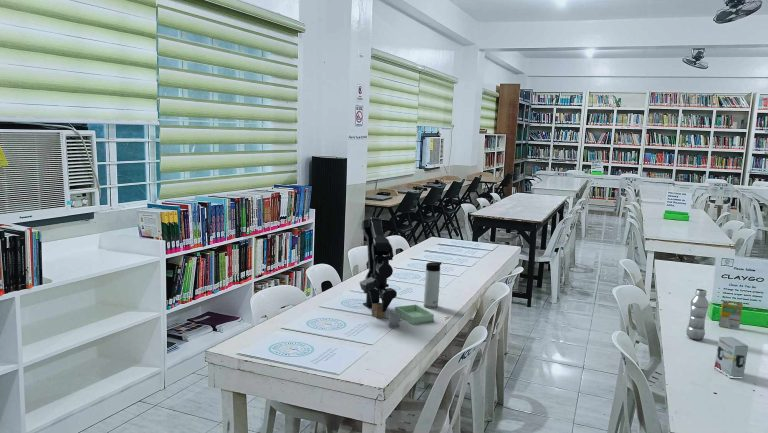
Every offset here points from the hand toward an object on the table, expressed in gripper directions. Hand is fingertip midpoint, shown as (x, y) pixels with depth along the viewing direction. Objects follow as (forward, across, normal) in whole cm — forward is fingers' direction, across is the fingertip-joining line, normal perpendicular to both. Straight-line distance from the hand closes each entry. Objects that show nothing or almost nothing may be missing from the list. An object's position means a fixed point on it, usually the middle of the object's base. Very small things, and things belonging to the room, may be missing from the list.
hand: (378, 308), depth 238 cm
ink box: (+3, +95, +85) cm, 128 cm away
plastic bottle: (+3, +69, +106) cm, 127 cm away
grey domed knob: (+3, +13, 0) cm, 14 cm away
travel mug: (+4, -3, +28) cm, 28 cm away
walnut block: (+3, 0, 0) cm, 3 cm away
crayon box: (+4, +66, +134) cm, 149 cm away
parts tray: (+3, +7, +13) cm, 15 cm away
